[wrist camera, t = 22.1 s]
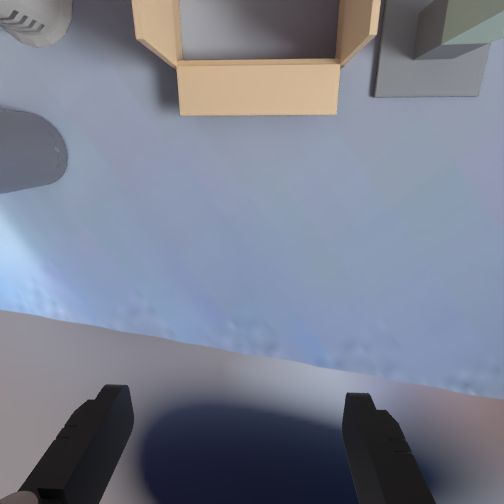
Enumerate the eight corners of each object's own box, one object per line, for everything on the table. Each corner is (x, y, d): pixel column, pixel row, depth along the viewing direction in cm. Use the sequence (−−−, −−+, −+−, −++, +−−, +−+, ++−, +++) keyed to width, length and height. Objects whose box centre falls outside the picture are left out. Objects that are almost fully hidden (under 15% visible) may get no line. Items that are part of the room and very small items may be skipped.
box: (412, 60, 35) (524, -1, 20) (419, 12, 33) (545, -93, 18) (453, 58, 35) (596, -4, 20) (461, 11, 33) (625, -97, 18)
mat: (373, 97, 37) (375, 96, 36) (388, -27, 33) (390, -30, 32) (475, 96, 36) (478, 95, 36) (503, -30, 32) (508, -33, 32)
